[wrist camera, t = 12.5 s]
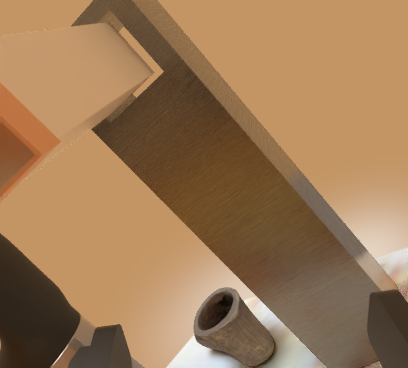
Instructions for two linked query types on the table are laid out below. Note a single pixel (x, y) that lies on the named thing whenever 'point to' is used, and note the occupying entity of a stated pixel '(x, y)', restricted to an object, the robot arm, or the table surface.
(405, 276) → the table surface
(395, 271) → the table surface
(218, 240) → the grey tall rectangular block
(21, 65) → the block
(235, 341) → the pipe
